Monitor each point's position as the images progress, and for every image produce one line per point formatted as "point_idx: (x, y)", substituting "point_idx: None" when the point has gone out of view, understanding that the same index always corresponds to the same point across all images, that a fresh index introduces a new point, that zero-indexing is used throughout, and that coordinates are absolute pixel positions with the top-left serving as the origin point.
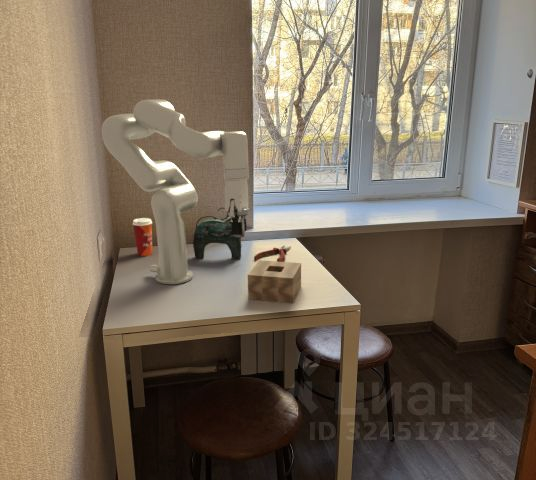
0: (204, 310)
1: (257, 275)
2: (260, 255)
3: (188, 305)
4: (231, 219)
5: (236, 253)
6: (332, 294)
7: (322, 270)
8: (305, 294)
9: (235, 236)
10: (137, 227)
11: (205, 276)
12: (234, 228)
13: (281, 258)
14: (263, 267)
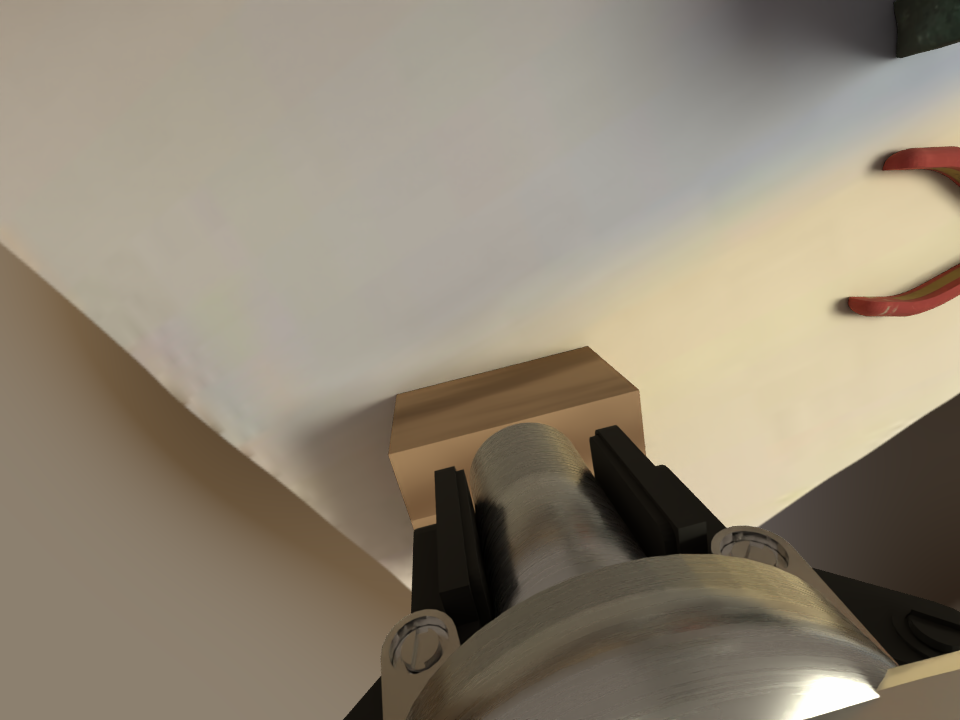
0: (181, 287)
1: (406, 500)
2: (946, 168)
3: (174, 175)
4: (384, 684)
5: (933, 24)
6: None
7: (795, 499)
8: None
9: (473, 461)
10: None
11: (574, 5)
12: (415, 571)
13: (889, 314)
14: None
